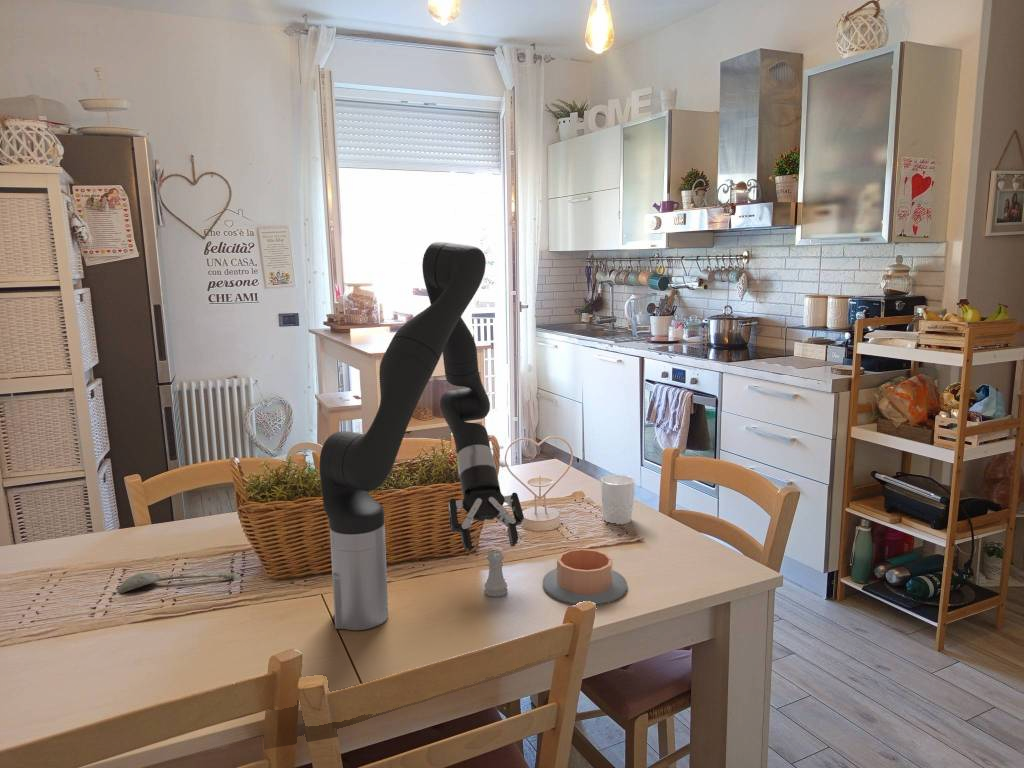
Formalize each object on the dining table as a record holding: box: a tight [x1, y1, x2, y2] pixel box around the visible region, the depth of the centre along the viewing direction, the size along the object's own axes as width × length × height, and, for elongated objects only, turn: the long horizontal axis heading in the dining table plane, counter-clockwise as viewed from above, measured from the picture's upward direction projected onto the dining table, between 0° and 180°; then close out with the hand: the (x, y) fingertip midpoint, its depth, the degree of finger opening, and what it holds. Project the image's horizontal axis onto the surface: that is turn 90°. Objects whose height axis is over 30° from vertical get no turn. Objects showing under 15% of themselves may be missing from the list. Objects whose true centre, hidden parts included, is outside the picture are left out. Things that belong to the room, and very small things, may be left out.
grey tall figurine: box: [483, 549, 509, 598], centre depth 136 cm, size 4×4×8 cm
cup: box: [542, 548, 628, 606], centre depth 138 cm, size 16×16×5 cm
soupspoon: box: [116, 572, 237, 594], centre depth 142 cm, size 22×3×7 cm
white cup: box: [600, 474, 636, 525], centre depth 173 cm, size 8×8×10 cm
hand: (492, 547), depth 138 cm, fingers open, 8 cm apart
